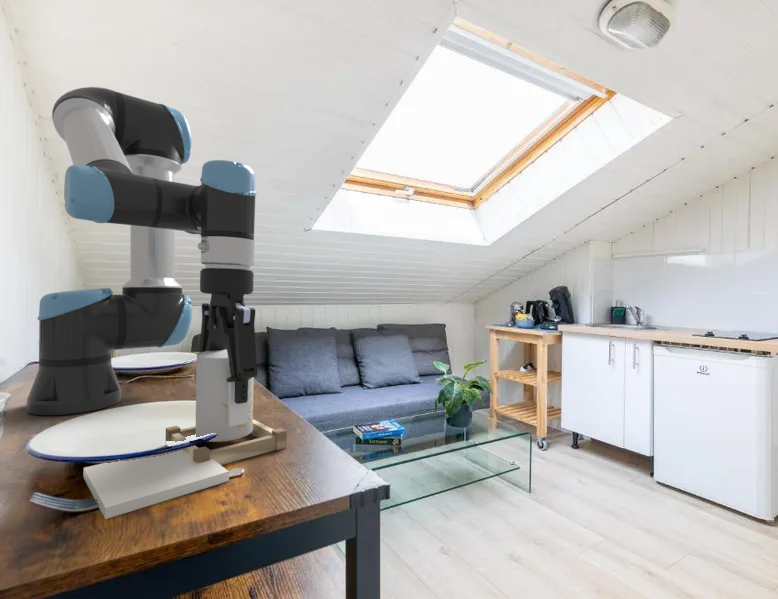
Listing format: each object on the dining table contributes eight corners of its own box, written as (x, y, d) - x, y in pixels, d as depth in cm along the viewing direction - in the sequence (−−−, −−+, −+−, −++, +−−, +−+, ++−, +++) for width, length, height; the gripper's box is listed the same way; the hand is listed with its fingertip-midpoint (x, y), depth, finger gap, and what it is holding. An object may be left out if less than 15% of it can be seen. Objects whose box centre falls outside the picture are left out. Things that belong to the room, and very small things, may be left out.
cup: (233, 444, 59) (235, 359, 59) (183, 438, 61) (184, 356, 60) (262, 425, 67) (263, 351, 67) (217, 420, 69) (218, 348, 68)
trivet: (83, 477, 53) (83, 467, 53) (191, 450, 62) (191, 442, 62) (105, 519, 43) (105, 507, 43) (228, 480, 52) (228, 471, 52)
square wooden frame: (165, 444, 64) (165, 427, 64) (247, 426, 73) (247, 411, 73) (197, 472, 54) (197, 453, 54) (286, 447, 64) (286, 430, 64)
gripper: (177, 267, 68) (175, 405, 69) (233, 265, 53) (230, 442, 54) (223, 269, 73) (221, 397, 74) (285, 268, 58) (282, 429, 59)
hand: (225, 416), depth 64 cm, fingers closed on cup, 8 cm apart
